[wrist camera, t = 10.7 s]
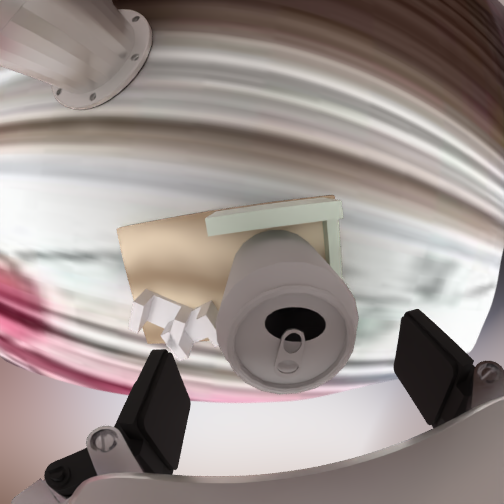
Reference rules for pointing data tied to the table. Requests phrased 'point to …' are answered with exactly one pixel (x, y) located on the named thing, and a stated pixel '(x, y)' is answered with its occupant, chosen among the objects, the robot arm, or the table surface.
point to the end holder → (285, 221)
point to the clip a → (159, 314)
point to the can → (285, 315)
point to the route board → (191, 258)
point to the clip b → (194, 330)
